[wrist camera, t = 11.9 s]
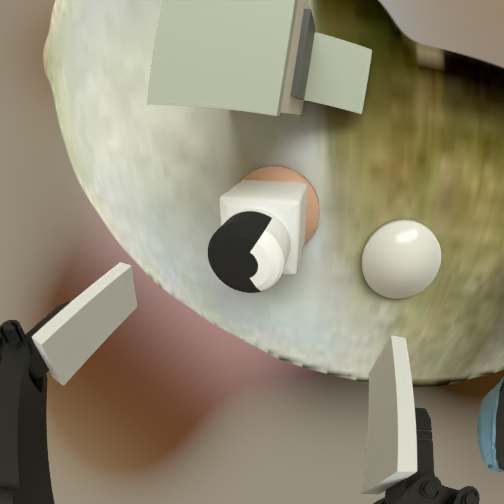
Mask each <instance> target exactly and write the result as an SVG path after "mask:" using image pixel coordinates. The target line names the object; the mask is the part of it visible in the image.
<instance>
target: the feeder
mask: <svg viewBox="0 0 504 504" xmlns="http://www.w3.org/2000/svg"><path fill="white" fill-rule="evenodd" d="M371 54H372V50H371V49H368V48H365V47H362V46H359V45H356V44H354V43H350V42H347V41H344V40H341V39H338V38H334V37H331V36H327V35H324V34H320V33H316V32H315V24H314V20H313V16H312V12H311V9H310V7H309V3H308V0H163V3H162V7H161V12H160V17H159V22H158V28H157V33H156V39H155V45H154V51H153V58H152V65H151V73H150V81H149V90H148V100H147V105H176V106H195V107H208V108H219V109H229V110H238V111H246V112H253V113H260V114H267V115H273V116H280V113H288V114H297V115H302V110H303V104H304V100H305V101H310V102H314V103H319V104H323V105H327V106H332V107H336V108H340V109H344V110H347V111H351V112H355V113H358V114H362V110H363V104H364V99H365V93H366V87H367V81H368V75H369V68H370V62H371Z"/></svg>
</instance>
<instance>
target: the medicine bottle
mask: <svg viewBox="0 0 504 504" xmlns="http://www.w3.org/2000/svg"><path fill="white" fill-rule="evenodd" d="M306 206H307V185H306V184H305V183H296V182H280V181H259V180H242V181H241V182H240V183H238V184H237V185H235V186H234V187H233V188H231V189H230V190H229V191H227V192H226V193H225V194H223V195H222V196H221V197H220V198H219V207H220V222H221V227H220V228H219V229H218V230H217V231H216V232H215V233H214V235H213V236H212V238H211V240H210V242H209V246H208V259H209V262H210V265H211V268H212V269H213V271H214V273H215V274H216V275H217V277H218V278H219V279H220V280H221V281H222V282H223V283H225V284H226V285H228V286H229V287H231V288H233V289H235V290H238V291H242V292H248V293H255V292H261V291H264V290H267V289H269V288H270V287H272V286H273V285H274V284H276V282H277V281H278V280H279V278H280V277H281V275H282V274H286V275H295V274H296V273H297V270H298V266H299V263H300V259H301V255H302V251H303V247H304V243H305V226H306Z"/></svg>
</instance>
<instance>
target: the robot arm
mask: <svg viewBox="0 0 504 504" xmlns="http://www.w3.org/2000/svg"><path fill="white" fill-rule="evenodd" d="M136 307H137V302H136V296H135V289H134V282H133V274H132V266H131V265H127V264H125V263H121V262H120V263H119V264H118V265H116V266H115V267H114V268H112V269H111V270H110V271H109V272H107V273H106V274H105V275H104V276H102V277H101V278H100V279H99V280H97V281H96V282H95V283H94V284H92V285H91V286H90V287H89V288H87V289H86V290H85V291H84V292H83V293H81V294H80V295H79V296H78V297H77V298H75V299H74V300H73V301H72V302H69V301H68V302H65V303H63V304H61V305H59V306H58V307H57V308H56V309H55V310H53V311H52V313H50V314H48V315H47V317H45V318H44V319H43V320H42V321H41V322H39V323H38V324H37V325H36V326H35V327H34V328H33V329H31V330H30V331H29V332H28V333H27V334H26V335H25V334H24V332H23V329H22V328H21V325H20V323H19V322H18V321H16V320H9V321H6V322H4V323H3V324H2V325H1V326H0V504H54V499H53V493H52V487H51V480H50V472H49V462H48V450H47V429H46V400H47V374H46V373H47V372H48V371H50V373H51V375H52V376H53V378H54V379H55V380H57V381H58V382H60V383H61V384H62V385H64V384H66V383H67V381H68V380H69V379H70V378H71V377H72V376H73V375H74V373H75V372H76V371H77V370H78V369H79V368H80V367H81V366H82V365H83V364H84V362H85V361H86V360H87V359H88V358H89V357H90V356H91V355H92V353H94V352H95V351H96V349H97V348H98V347H99V346H100V345H101V344H102V343H103V342H104V341H105V340H106V338H108V336H109V335H110V334H111V333H112V332H113V331H114V330H115V329H116V328H117V327H118V326H119V325H120V324H121V323H122V322H123V321H124V320H125V319H126V318H127V317H128V316H129V315H130V313H131V312H132V311H133V310H134V309H135V308H136ZM431 430H432V429H431V419H430V417H429V415H428V413H427V411H426V409H424V408H415V406H414V396H413V387H412V378H411V371H410V364H409V357H408V351H407V345H406V339H405V338H402V337H397V336H392V335H391V336H390V338H389V340H388V342H387V344H386V346H385V347H384V349H383V351H382V353H381V354H380V356H379V358H378V359H377V361H376V363H375V364H374V366H373V368H372V369H371V371H370V373H369V411H368V431H367V445H366V456H365V466H364V475H363V483H362V490H361V494H380V493H382V492H384V491H385V490H386V493H385V498H382V499H380V500H378V501H376V502H375V503H374V504H479V493H478V491H477V489H475V488H474V487H471V486H467V487H464V488H462V489H461V490H456V489H452V488H448V487H445V486H443V485H441V482H440V480H439V479H438V478H437V477H435V475H434V463H433V462H434V461H433V442H432V432H431ZM477 435H478V443H479V449H480V452H481V456H482V458H483V461H484V463H485V464H486V465H488V469H489V470H490V471H492V472H502V471H504V377H503V378H502V380H501V382H500V383H499V384H498V385H497V386H496V387H495V388H494V389H493V390H492V391H490V392H489V393H488V394H487V396H486V397H485V398H484V400H483V401H482V404H481V406H480V410H479V415H478V421H477Z"/></svg>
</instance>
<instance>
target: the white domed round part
mask: <svg viewBox="0 0 504 504" xmlns="http://www.w3.org/2000/svg"><path fill="white" fill-rule="evenodd" d="M361 260H362V270H363V275H364V278H365V280H366V282H367V283H368V285H369V286H370V287H371V288H372V289H373V290H374V291H375V292H377V293H378V294H380V295H382V296H384V297H388V298H394V299H401V298H407V297H411V296H413V295H416V294H418V293H420V292H421V291H423V290H424V289H425V288H426V287H428V286H429V285H430V283H431V282H432V281H433V280H434V278H435V277H436V275H437V273H438V270H439V268H440V264H441V249H440V245H439V243H438V241H437V239H436V237H435V236H434V234H433V233H432V232H431V230H430V229H429V228H428V227H427V226H425V225H424V224H422V223H421V222H418V221H416V220H412V219H396V220H392V221H389V222H387V223H385V224H383V225H381V226H380V227H378V228H377V229H376V230H375V231H374V232H373V233H372V234H371V235H370V237H369V238H368V239H367V241H366V243H365V245H364V248H363V251H362V258H361Z"/></svg>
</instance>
